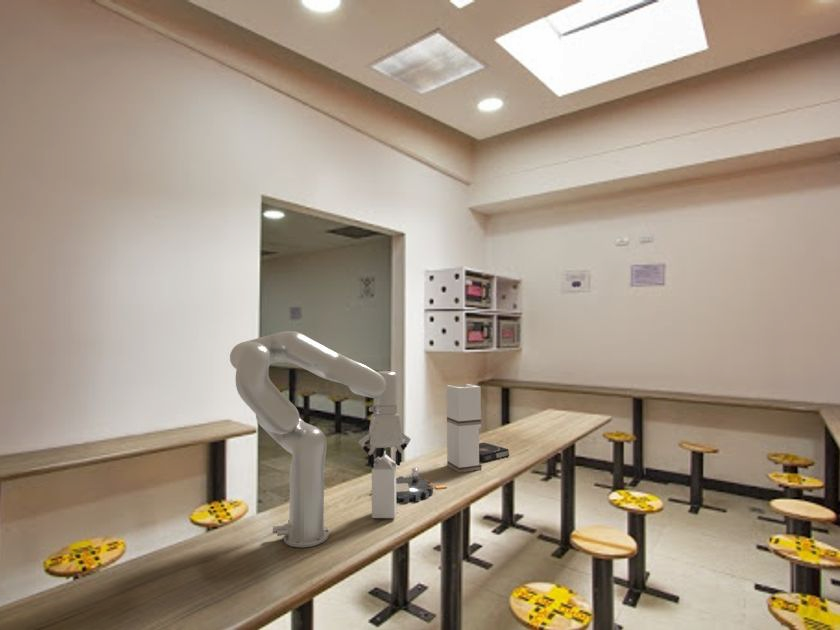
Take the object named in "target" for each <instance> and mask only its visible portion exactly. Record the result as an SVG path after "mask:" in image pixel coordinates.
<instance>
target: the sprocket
mask: <svg viewBox="0 0 840 630" xmlns="http://www.w3.org/2000/svg"><path fill="white" fill-rule="evenodd" d="M433 494H434V483H431V481H430V480H425V479H424V478H423V477H419V468H417V467H413V468H411V476H409V477H404V476H398V477H396V503H398V502H403V503H409V502H411V501H415V502H419V501H420V502H421V499H428V498H429V497H430V496H432V495H433Z"/></svg>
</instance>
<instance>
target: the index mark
mask: <svg viewBox="0 0 840 630" xmlns="http://www.w3.org/2000/svg"><path fill="white" fill-rule="evenodd" d="M434 488H435V490H442V489H443V488H444V489H447V488H448V487H447V485H445V484H442V485H434ZM444 489H443V490H444Z"/></svg>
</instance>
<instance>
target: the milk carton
mask: <svg viewBox="0 0 840 630" xmlns="http://www.w3.org/2000/svg"><path fill="white" fill-rule="evenodd" d="M386 453H387V452H386V450H384V451H383V454H382V456H381V457H380V456H377V457H376V458H374V467H373V468H371V519H395V517H396V515H397V514H396V512H397V502H396V478H397V464H396V463H395V460H393V459H392V458H391V457H390V456H389V455H387V454H386Z"/></svg>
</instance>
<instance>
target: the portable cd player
mask: <svg viewBox="0 0 840 630" xmlns="http://www.w3.org/2000/svg"><path fill="white" fill-rule="evenodd" d="M508 456H509V457H510V452H509V449H508V448H505V447H503V446H498V445H494V444H491V443H487V442H479V461H480V462H479V463H482V462H483V463H482V464H484V462H485V463H489V462H492V460H494V461H497V460H496V459H498V460H501V459H500V458H502V459H505V458H504V457H506V458H509V457H508ZM488 461H489V462H488Z"/></svg>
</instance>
